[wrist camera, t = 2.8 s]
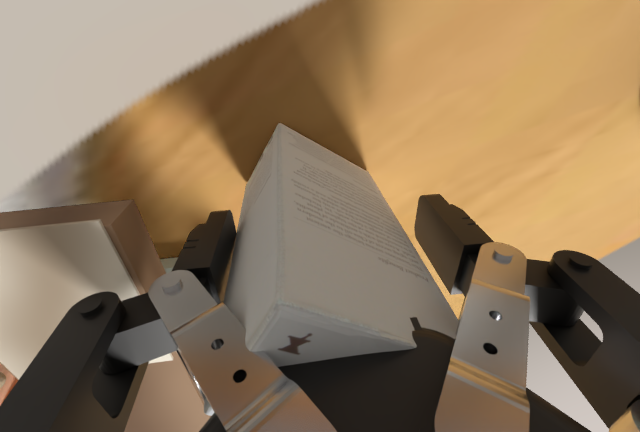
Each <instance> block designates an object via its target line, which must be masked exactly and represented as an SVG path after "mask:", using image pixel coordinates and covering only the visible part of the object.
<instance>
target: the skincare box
mask: <svg viewBox="0 0 640 432" xmlns="http://www.w3.org/2000/svg"><path fill="white" fill-rule="evenodd" d="M223 303H224V304H225V305H226V306H227V307H228V308H229V310H230V311H231V312H232V313H233V314H234V316H235V317H236V318H237V319H238V320H239V322H240V323H241V324H242V325H243V326H244V328H245V329H246V336H245V344H246V347H247V349H248V350H249V351H253V352H257V351H265V353H266V354H267V355H268V356H269V357H270V359H271V360H272V361H273V362H274V363H275V365H276V366H277V367H280V366H287V365H294V364H301V363H307V362H314V361H321V360H327V359H334V358H341V357H348V356H355V355H362V354H370V353H378V352H388V351H399V350H408V349H414V348H416V347H417V345H416V343H415V341H414V340H413V337H412V331H415V330H414V327H413V325H412V322H411V320H410V318H412V317H417V319H418V321H419V323H420V326H421V327H423V328H428V329H432V330H435V331H438V332H441V333H444V334H446V335H448V336H450V337H452V338H454V339H455V337H456V334H455V333H456V329H457V326H458V322H459V320H458V319H457V317H456V316H455V314H454V312H453V310H452V309H451V307H450V305H449V304H448V302H447V300H446V299H445V297H444V296H443V294H442V292H441V291H440V289H439V287H438V285H437V284H436V282H435V281H434V279H433V277H432V276H431V274H430V272H429V271H428V269H427V268H426V266H425V264H424V263H423V261H422V259H421V258H420V256H419V254H418V253H417V251H416V249H415V248H414V246H413V244H412V243H411V241H410V240H409V238H408V236H407V234H406V233H405V231H404V230H403V228H402V226H401V225H400V223H399V222H398V220H397V218H396V217H395V215H394V213H393V212H392V210H391V208H390V207H389V205H388V203H387V202H386V200H385V199H384V197H383V195H382V194H381V192H380V190H379V189H378V187H377V185H376V184H375V182H374V180H373V179H372V177H371V175H370V174H369V172H368V171H366V170H364V169H362V168H360V167H359V166H357V165H355V164H353V163H351V162H350V161H348V160H346V159H344V158H343V157H341V156H339V155H337V154H335V153H334V152H332V151H330V150H328V149H326V148H324V147H323V146H321V145H319V144H317V143H316V142H314V141H312V140H310V139H308V138H307V137H305V136H303V135H301V134H299V133H298V132H296V131H294V130H292V129H290V128H289V127H287V126H285V125H283V124H281V123H279V124H278V125H277V127H276V129H275V131H274V133H273V135H272V137H271V138H270V140H269V142H268V144H267V146H266V147H265V149H264V151H263V153H262V155H261V157H260V159H259V161H258V163H257V165H256V167H255V169H254V171H253V173H252V175H251V177H250V179H249V181H248V182H247V184H246V188H245V194H244V199H243V203H242V208H241V214H240V219H239V224H238V229H237V234H236V240H235V245H234V250H233V255H232V260H231V266H230V271H229V276H228V282H227V286H226V291H225V296H224V302H223ZM204 413H205V414H206V415H208V416H212V415H213V413H214V411H213V409H212V407H211V406H210V404H209V402H208V400H207V399H206V398H205V402H204Z"/></svg>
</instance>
